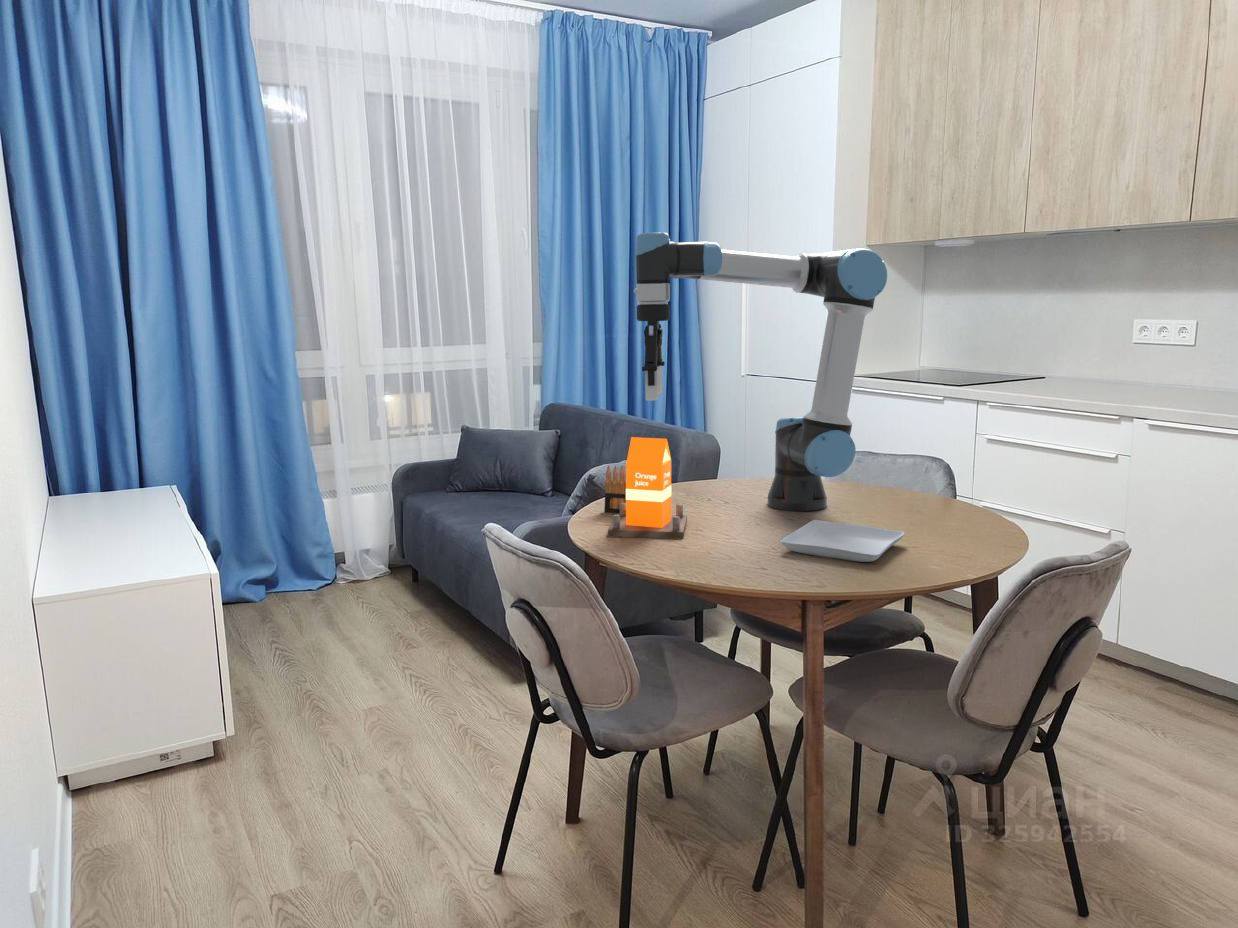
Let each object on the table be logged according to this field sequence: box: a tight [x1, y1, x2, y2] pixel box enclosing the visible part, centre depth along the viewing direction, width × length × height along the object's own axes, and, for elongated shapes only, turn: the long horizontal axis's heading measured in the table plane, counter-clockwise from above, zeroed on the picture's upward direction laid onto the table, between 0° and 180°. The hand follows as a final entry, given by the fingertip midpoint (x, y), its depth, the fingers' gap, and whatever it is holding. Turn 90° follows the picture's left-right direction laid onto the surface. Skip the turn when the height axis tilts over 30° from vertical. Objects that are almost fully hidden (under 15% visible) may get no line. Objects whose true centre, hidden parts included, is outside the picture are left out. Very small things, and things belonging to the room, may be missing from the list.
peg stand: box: [607, 503, 688, 539], centre depth 212 cm, size 17×16×4 cm
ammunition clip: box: [604, 465, 626, 515], centre depth 228 cm, size 11×2×12 cm, turn 71°
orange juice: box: [625, 436, 672, 528], centre depth 211 cm, size 8×9×20 cm
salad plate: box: [779, 519, 906, 563], centre depth 194 cm, size 21×21×3 cm
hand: (654, 397), depth 209 cm, fingers open, 13 cm apart
